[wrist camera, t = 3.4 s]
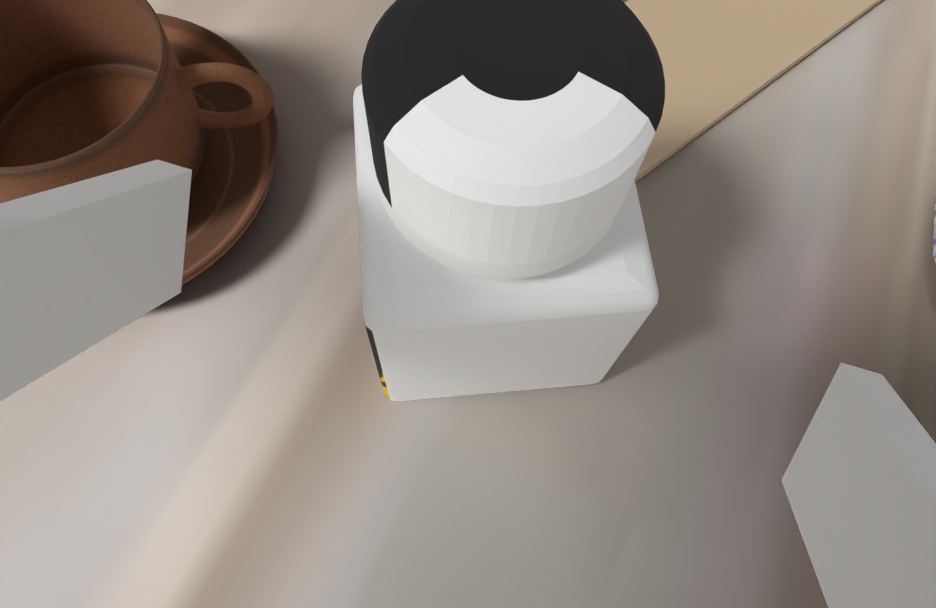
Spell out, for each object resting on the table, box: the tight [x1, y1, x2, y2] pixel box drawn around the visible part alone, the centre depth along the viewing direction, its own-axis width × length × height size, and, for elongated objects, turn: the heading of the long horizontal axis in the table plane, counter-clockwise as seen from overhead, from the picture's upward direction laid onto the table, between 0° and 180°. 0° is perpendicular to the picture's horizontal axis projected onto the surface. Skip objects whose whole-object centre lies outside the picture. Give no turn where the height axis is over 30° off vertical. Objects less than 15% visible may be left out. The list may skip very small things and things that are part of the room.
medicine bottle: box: [353, 0, 665, 402], centre depth 19 cm, size 7×7×12 cm
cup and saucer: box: [0, 0, 278, 285], centre depth 23 cm, size 12×12×6 cm
